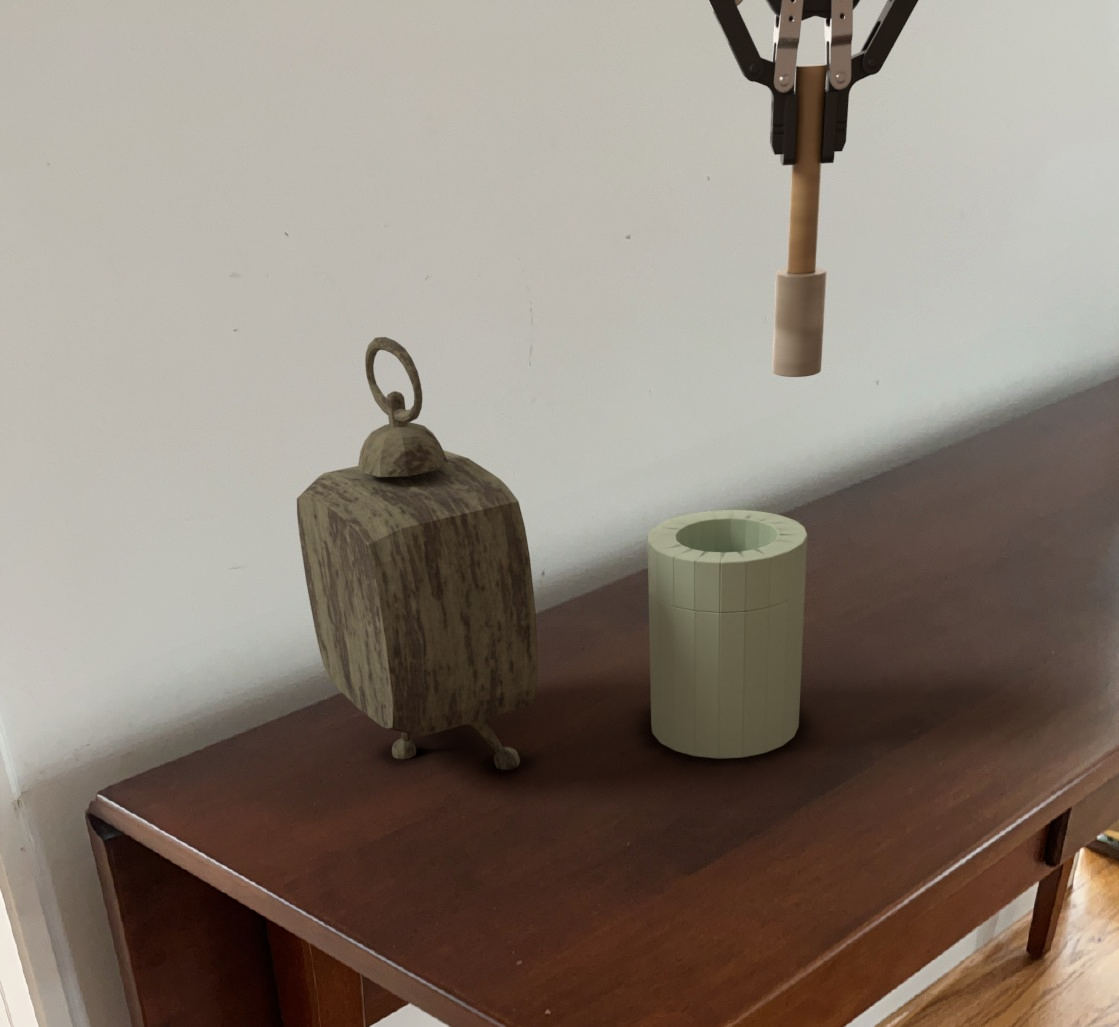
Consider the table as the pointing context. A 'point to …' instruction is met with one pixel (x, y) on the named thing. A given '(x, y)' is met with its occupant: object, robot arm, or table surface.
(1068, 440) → the table surface
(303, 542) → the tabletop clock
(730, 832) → the table surface
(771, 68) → the robot arm
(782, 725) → the cylindrical container
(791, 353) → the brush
